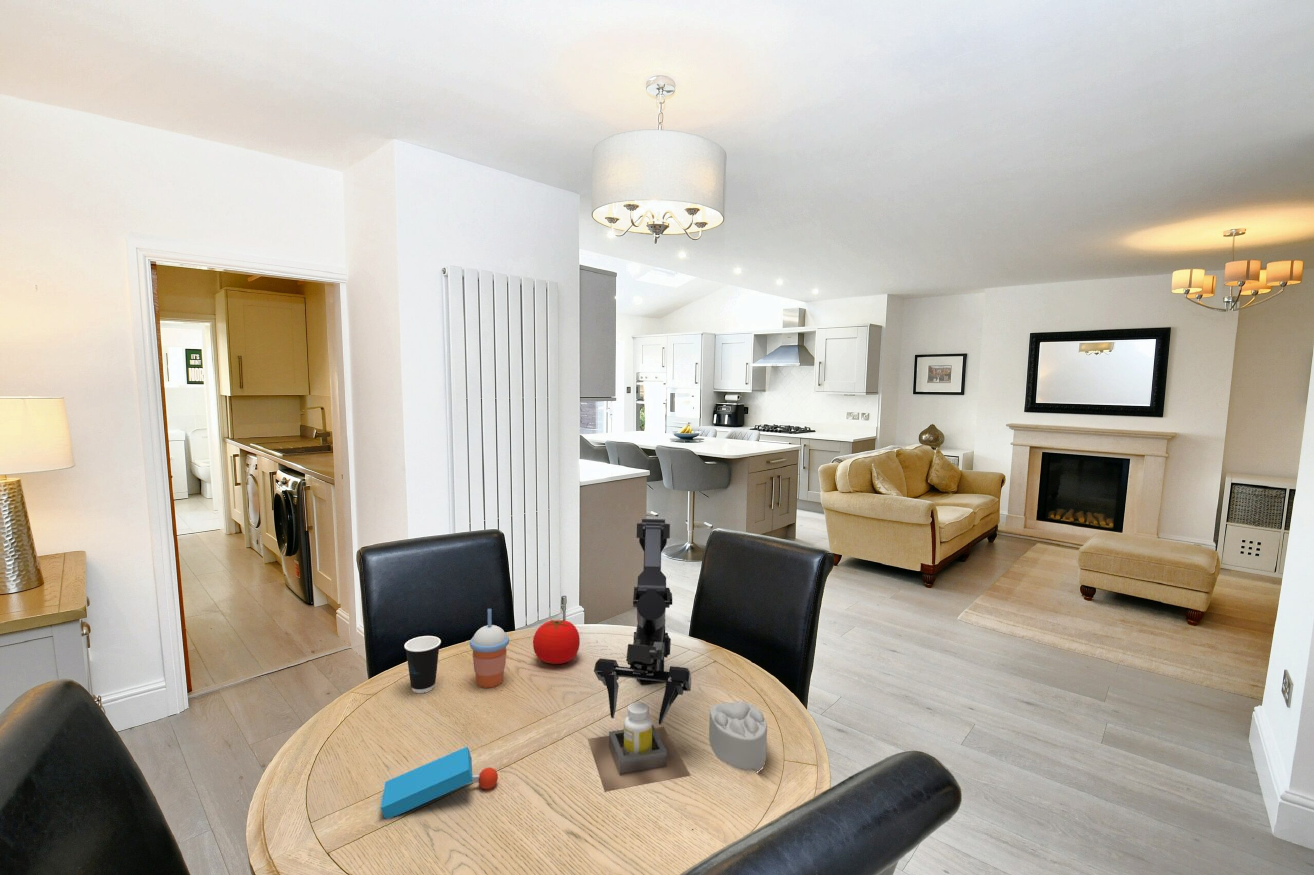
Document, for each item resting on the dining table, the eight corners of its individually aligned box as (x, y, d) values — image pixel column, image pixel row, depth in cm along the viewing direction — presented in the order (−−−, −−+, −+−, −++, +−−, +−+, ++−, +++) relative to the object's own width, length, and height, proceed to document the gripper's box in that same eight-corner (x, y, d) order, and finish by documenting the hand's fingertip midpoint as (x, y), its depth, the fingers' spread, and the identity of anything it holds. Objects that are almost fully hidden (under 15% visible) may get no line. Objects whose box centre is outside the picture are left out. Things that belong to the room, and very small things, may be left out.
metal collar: (652, 738, 119) (652, 724, 118) (666, 766, 110) (666, 751, 110) (608, 746, 116) (608, 731, 116) (619, 775, 108) (619, 759, 107)
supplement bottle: (653, 749, 115) (654, 701, 115) (649, 766, 110) (650, 716, 109) (626, 746, 116) (627, 698, 115) (621, 763, 111) (621, 713, 110)
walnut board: (663, 732, 123) (663, 726, 123) (690, 781, 108) (690, 775, 108) (587, 744, 118) (587, 738, 118) (604, 797, 103) (604, 791, 103)
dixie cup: (400, 697, 135) (399, 650, 134) (411, 679, 143) (411, 635, 142) (435, 696, 135) (435, 650, 134) (445, 679, 143) (444, 635, 142)
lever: (394, 843, 98) (501, 794, 103) (380, 808, 97) (490, 759, 102) (397, 815, 105) (498, 770, 110) (385, 781, 103) (487, 737, 109)
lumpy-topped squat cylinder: (751, 733, 124) (753, 693, 123) (776, 772, 111) (778, 729, 110) (703, 737, 122) (705, 697, 121) (723, 779, 109) (725, 734, 108)
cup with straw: (503, 691, 138) (503, 617, 136) (464, 690, 138) (464, 616, 136) (513, 673, 147) (513, 602, 145) (477, 672, 147) (476, 601, 146)
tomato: (581, 650, 160) (581, 613, 159) (577, 671, 149) (578, 630, 148) (536, 650, 160) (537, 613, 159) (529, 671, 148) (529, 630, 147)
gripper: (597, 619, 117) (579, 701, 107) (691, 628, 113) (681, 714, 103) (607, 641, 125) (591, 719, 115) (695, 650, 122) (686, 731, 112)
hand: (635, 720), depth 111 cm, fingers open, 9 cm apart
